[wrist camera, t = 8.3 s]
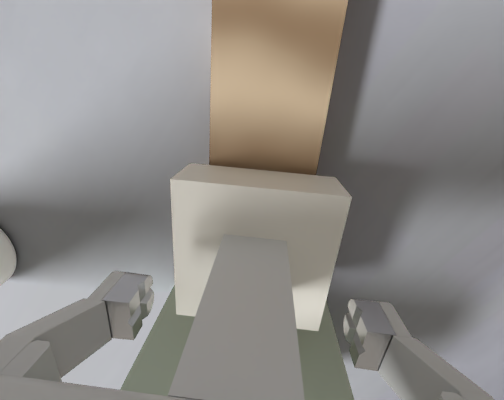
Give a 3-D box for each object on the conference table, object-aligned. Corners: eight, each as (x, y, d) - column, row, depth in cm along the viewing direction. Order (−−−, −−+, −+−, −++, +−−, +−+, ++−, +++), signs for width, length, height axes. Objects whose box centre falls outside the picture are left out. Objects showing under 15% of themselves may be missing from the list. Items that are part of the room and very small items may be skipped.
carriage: (190, 163, 14) (27, 291, 5) (335, 177, 14) (475, 344, 4) (191, 278, 17) (95, 498, 8) (310, 292, 17) (360, 537, 7)
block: (223, -104, 11) (214, -144, 10) (356, -96, 11) (373, -134, 9) (212, 281, 20) (207, 300, 18) (288, 290, 19) (290, 310, 18)
